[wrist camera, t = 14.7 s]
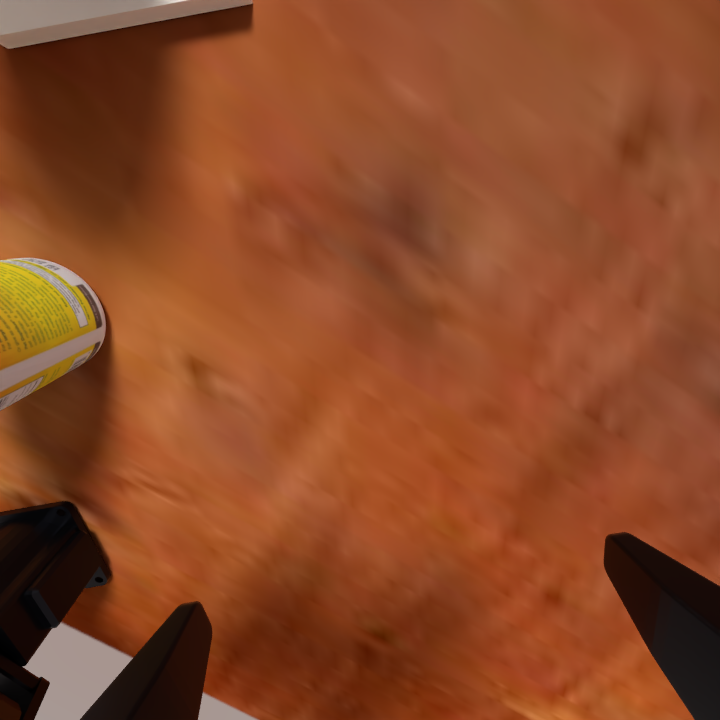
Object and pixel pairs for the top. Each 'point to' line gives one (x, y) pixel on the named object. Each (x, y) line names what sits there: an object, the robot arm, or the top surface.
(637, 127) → the top surface
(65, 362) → the supplement bottle
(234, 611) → the top surface
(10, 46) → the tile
